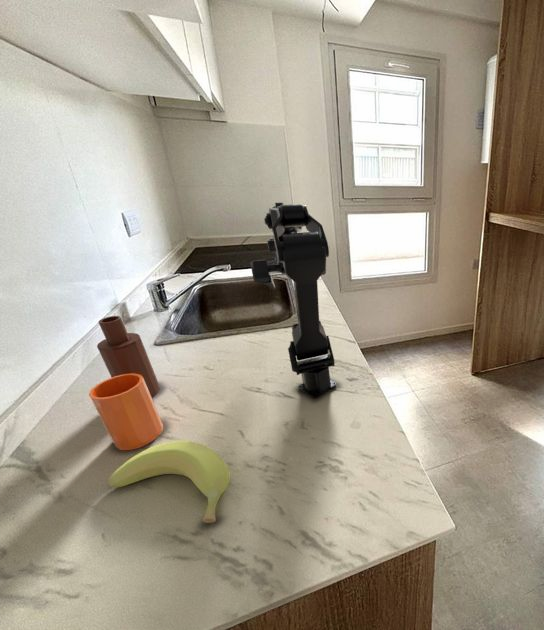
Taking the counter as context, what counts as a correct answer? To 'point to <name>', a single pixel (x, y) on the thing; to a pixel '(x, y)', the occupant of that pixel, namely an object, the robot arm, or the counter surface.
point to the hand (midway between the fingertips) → (291, 286)
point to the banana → (179, 469)
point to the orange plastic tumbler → (127, 411)
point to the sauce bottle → (125, 353)
